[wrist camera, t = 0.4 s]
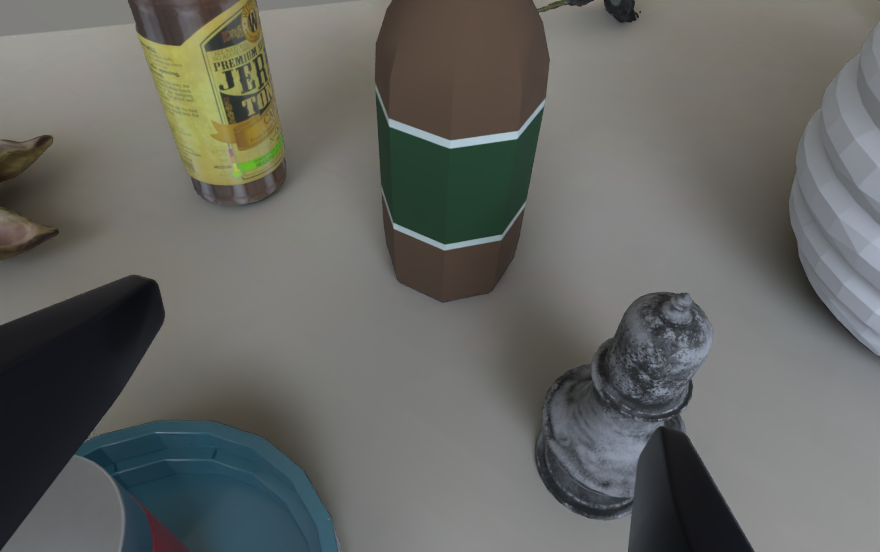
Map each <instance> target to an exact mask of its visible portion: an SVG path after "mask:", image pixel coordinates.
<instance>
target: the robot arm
mask: <svg viewBox="0 0 880 552" xmlns="http://www.w3.org/2000/svg"><path fill="white" fill-rule="evenodd" d="M164 318H165V310H164V306H163V302H162V298H161V294H160V289H159V286H158V284H157V282H156V281H155V280H153V279H150V278H146V277H143V276H139V275H130V276H127V277H124V278H122V279H119V280H116V281H114V282H111V283H109V284H106V285H103V286H101V287H98V288H96V289H93V290H91V291H88V292H85V293H83V294H80V295H78V296H75V297H72V298H70V299H67V300H65V301H62V302H60V303H57V304H54V305H52V306H49V307H47V308H44V309H41V310H39V311H36V312H34V313H31V314H29V315H26V316H23V317H21V318H18V319H16V320H13V321H11V322H8V323H5V324H3V325H0V551H1V550H2V549H3V547H4V546H5V545H6V543H7V542H8V541H9V539H10V538H11V537H12V536H13V534H14V533H15V532H16V530H17V529H18V528H19V526H20V525H21V524H22V522H23V521H24V520H25V518H26V517H27V516H28V515H29V513H30V512H31V511H32V509H33V508H34V507H35V505H36V504H37V503H38V501H39V500H40V499H41V497H42V496H43V495H44V494H45V492H46V491H47V490H48V488H49V487H50V486H51V484H52V483H53V482H54V480H55V479H56V478H57V476H58V475H59V474H60V473H61V471H62V470H63V469H64V467H65V466H66V465H67V463H68V462H69V461H70V459H71V458H72V457H73V455H74V454H75V453H76V452H77V450H78V449H79V448H80V446H81V445H82V444H83V442H84V441H85V440H86V438H87V437H88V436H89V434H90V433H91V432H92V431H93V429H94V428H95V427H96V425H97V424H98V423H99V421H100V420H101V419H102V417H103V416H104V415H105V413H106V412H107V411H108V410H109V408H110V407H111V406H112V404H113V403H114V401H115V400H116V399H117V397H118V396H119V395H120V393H121V392H122V390H123V388H124V387H125V385H126V384H127V382H128V381H129V379H130V377H131V376H132V374H133V372H134V371H135V369H136V367H137V366H138V364H139V363H140V361H141V359H142V358H143V356H144V354H145V353H146V351H147V349H148V348H149V346H150V344H151V343H152V341H153V339H154V338H155V336H156V335H157V333H158V331H159V330H160V328H161V326H162V324H163V322H164ZM628 552H755V551H754V550H753V548H752V546H751V544H750V543H749V541H748V539H747V538H746V536H745V534H744V532H743V531H742V529H741V527H740V526H739V524H738V522H737V520H736V519H735V517H734V515H733V513H732V512H731V510H730V508H729V507H728V505H727V503H726V501H725V500H724V498H723V496H722V495H721V493H720V491H719V489H718V488H717V486H716V484H715V482H714V481H713V479H712V477H711V476H710V474H709V472H708V470H707V469H706V467H705V465H704V463H703V462H702V460H701V458H700V457H699V455H698V453H697V451H696V450H695V448H694V446H693V445H692V443H691V441H690V439H689V438H688V436H687V435H686V434H685V433H684V432H682V431H679V430H676V429H672V428H669V427H665V426H659V427H658V428H656V430H655V431H654V433H653V434H652V436H651V437H650V439H649V441H648V442H647V444H646V445H645V447H644V448H643V450H642V452H641V454H640V456H639V459H638V463H637V470H636V479H635V489H634V498H633V508H632V517H631V527H630V536H629V547H628Z"/></svg>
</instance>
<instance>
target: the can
mask: <svg viewBox="0 0 880 552" xmlns="http://www.w3.org/2000/svg"><path fill="white" fill-rule="evenodd" d="M0 552H191V551H190V550H189V549H188V548H187V547H186V546H184V545H183V544H182V543H181V542H180V541H179V540H178V539H177V538H176V537H175V536H174V535H173V534H172V533H171V532H170V531H169V530H168V529H167V528H166V527H165V526H164V525H163V524H162V523H161V522H160V521H159V520H158V519H157V518H156V517H155V516H154V515H153V514H152V513H151V512H150V511H149V510H148V509H147V508H146V507H145V506H144V505H143V504H141V503H140V502H139V501H138V500H137V499H136V498H135V497H134V496H133V495H132V494H130V493H129V492H128V491H126V490H125V489H124V488H123V487H122V486H121V485H120V484H119V483H118V482H117V481H116V480H115V479H114V478H113V477H112V476H111V475H110V474H109V473H108V472H107V471H106V470H105V469H104V468H102V467H101V466H99V465H98V464H97V463H95V462H93V461H91V460H89V459H87V458H84V457H81V456H77V455H73V457H72V458H71V459H70V461H69V462H68V463H67V465H66V466H65V467H64V469H63V470H62V471H61V473H60V474H59V475H58V476H57V478H56V479H55V480H54V482H53V483H52V484H51V486H50V487H49V488H48V490H47V491H46V492H45V494H44V495H43V496H42V497H41V499H40V500H39V501H38V503H37V504H36V505H35V507H34V508H33V509H32V511H31V512H30V513H29V515H28V516H27V517H26V518H25V520H24V521H23V522H22V524H21V525H20V526H19V528H18V529H17V530H16V532H15V533H14V534H13V536H12V537H11V538H10V539H9V541H8V542H7V543H6V545H5V546H4V547H3V549H2V550H1V551H0Z"/></svg>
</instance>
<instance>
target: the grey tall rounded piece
mask: <svg viewBox="0 0 880 552" xmlns="http://www.w3.org/2000/svg"><path fill="white" fill-rule="evenodd" d="M712 339H713V332H712V327H711V324H710V322H709V320H708V318H707V316H706V315H705V313H704V312H703V310H702V309H701V308H700V307H699V306H698V305H697V304H695V303H694V302H693V300H692V298H691V297H690V295H689V293H680V294H675V293H669V292H658V293H650V294H647V295H644V296H641V297H639V298H638V299H637V300H635V301H634V302H633V303H632V304H631V305H630V306H629V307H628V309H627V310H626V312H625V313H624V316H623V318H622V320H621V322H620V324H619V327H618V329H617V331H616V333H615V336H614V337H613V338H611V339H608V340H607V341H605V342H604V343H603V344H602V345H600V346H599V348H598V349H597V351H596V352H595V354H594V356H593V359H592V363H591V364H588V365H582V366H579V367H577V368H574V369H571V370H569V371H567V372H566V373H564V374H563V375H562V376H560V377H559V378H558V379H556V381H555V382H554V383H553V385H552V386H551V388H550V389H549V390H548V392H547V394H546V397H545V400H544V404H543V407H542V428H543V429H542V430H541V432H540V435H539V438H538V441H537V445H536V462H537V466H538V470H539V474H540V476H541V478H542V480H543V482H544V484H545V485H546V487H547V489H548V490H549V491H550V492H551V494H552V495H553V496H554V497H555V498H556V499H557V500H558V501H559V502H560V503H561V504H563V505H564V506H566V507H567V508H568V509H570V510H571V511H573V512H575V513H577V514H580V515H582V516H585V517H587V518H592V519H600V520H610V519H617V518H622V517H624V516H626V515H628V514H630V513H632V508H633V498H634V489H635V479H636V470H637V463H638V459H639V456H640V454H641V452H642V450H643V448H644V447H645V445H646V444H647V442H648V441H649V439H650V437H651V436H652V434H653V433H654V431H655V430H656V428H658V427H659V426H665V427H669V428H672V429H676V430H679V431H682V432H684V433H685V434H686V431H685V425H684V423H683V420H682V418H681V416H680V413H681V412H682V411H683V410H684V409H685V408H686V407H687V405H688V403H689V401H690V399H691V396H692V389H693V385H692V379H691V378H692V377H693V375H694V374H695V372H696V371H697V370H698V368H699V367H700V365H701V364H702V362H703V361H704V359H705V358H706V357H707V355H708V353H709V351H710V349H711V345H712Z"/></svg>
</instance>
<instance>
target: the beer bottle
mask: <svg viewBox="0 0 880 552" xmlns="http://www.w3.org/2000/svg"><path fill="white" fill-rule="evenodd" d="M549 61H550V59H549V53H548V48H547V42H546V37H545V32H544V26H543V22H542V20H541V17H540V15H539V13H538V11H537V9H536V7H535V5H534V3H533V0H392V2H391V3H390V5H389V7H388V8H387V11H386V14H385V17H384V20H383V23H382V26H381V30H380V33H379V36H378V39H377V42H376V62H375V89H376V106H377V122H378V139H379V155H380V171H381V188H382V204H383V220H384V229H385V236H386V243H387V247H388V250H389V254H390V257H391V260H392V264H393V267H394V270H395V274H396V277H397V280H398V281H399V282H400V283H402V284H404V285H406V286H408V287H410V288H412V289H415V290H417V291H419V292H421V293H423V294H425V295H428V296H430V297H432V298H434V299H436V300H439V301H441V302H446V301H451V300H456V299H461V298H466V297H471V296H476V295H481V294H486V293H489V292H491V291H492V290H493V288H494V287H495V285H496V284H497V282H498V281H499V279H500V278H501V276H502V275H503V273H504V272H505V270H506V269H507V267H508V265H509V264H510V262H511V261H512V259H513V258H514V254H515V251H516V247H517V243H518V240H519V236H520V230H521V225H522V220H523V215H524V209H525V204H526V199H527V194H528V188H529V183H530V178H531V173H532V167H533V162H534V157H535V152H536V146H537V141H538V136H539V131H540V125H541V120H542V115H543V110H544V104H545V99H546V90H547V81H548V71H549Z"/></svg>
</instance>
